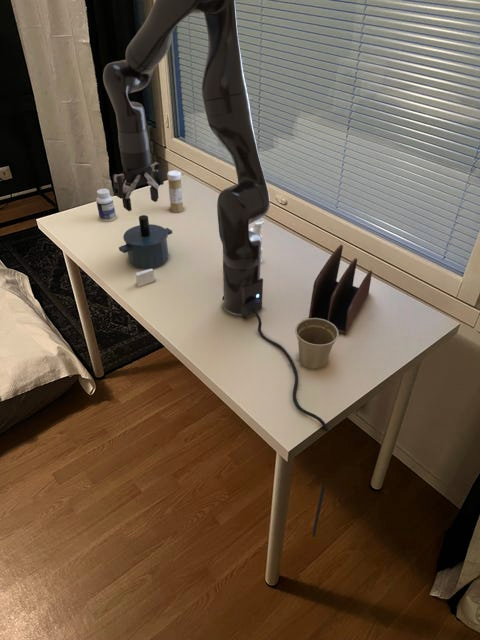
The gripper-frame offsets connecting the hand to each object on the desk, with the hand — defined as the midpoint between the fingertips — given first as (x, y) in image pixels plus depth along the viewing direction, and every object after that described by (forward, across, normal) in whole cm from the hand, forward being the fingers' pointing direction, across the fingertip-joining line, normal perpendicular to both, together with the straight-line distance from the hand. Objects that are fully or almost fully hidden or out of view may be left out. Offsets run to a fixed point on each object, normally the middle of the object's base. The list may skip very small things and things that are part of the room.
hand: (141, 205), depth 137 cm
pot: (+17, 0, 0) cm, 17 cm away
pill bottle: (+18, +5, +31) cm, 36 cm away
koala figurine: (+17, +22, -22) cm, 36 cm away
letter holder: (+17, +22, -54) cm, 61 cm away
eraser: (+17, -8, -10) cm, 22 cm away
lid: (+10, 0, 0) cm, 10 cm away
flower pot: (+17, +2, -62) cm, 64 cm away
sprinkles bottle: (+17, +26, +20) cm, 37 cm away
